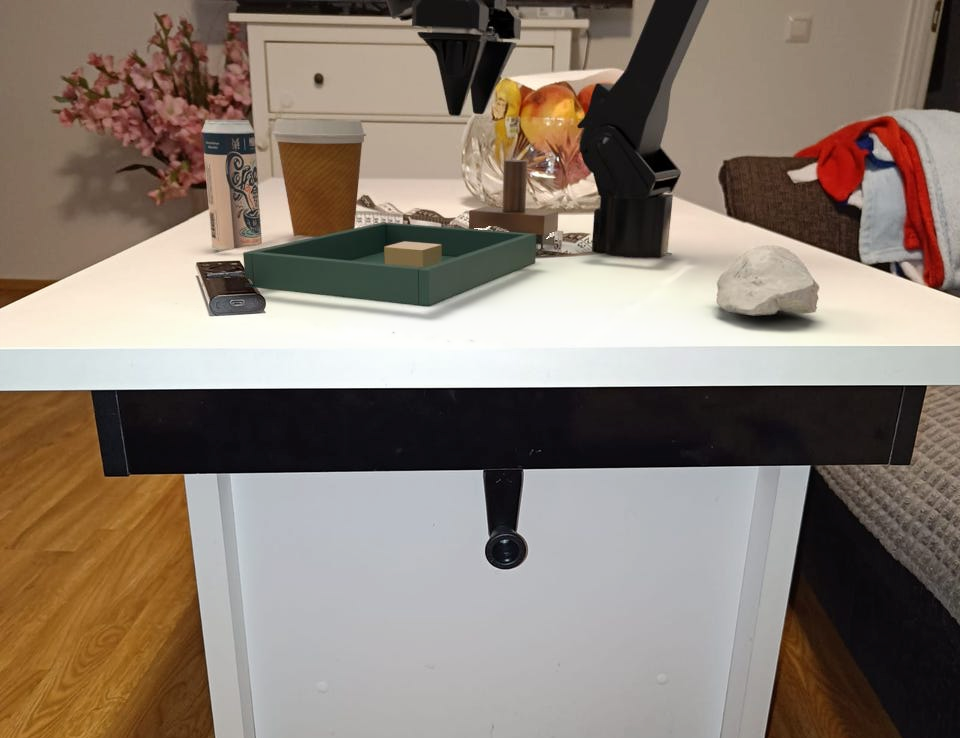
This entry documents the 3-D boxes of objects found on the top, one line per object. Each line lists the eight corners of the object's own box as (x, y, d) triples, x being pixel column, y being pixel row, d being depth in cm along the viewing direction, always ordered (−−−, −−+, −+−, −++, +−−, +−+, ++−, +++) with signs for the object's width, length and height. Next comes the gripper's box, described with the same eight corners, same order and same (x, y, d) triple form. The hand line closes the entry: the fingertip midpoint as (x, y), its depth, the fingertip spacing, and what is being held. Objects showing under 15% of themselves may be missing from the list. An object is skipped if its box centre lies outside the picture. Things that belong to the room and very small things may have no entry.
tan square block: (441, 268, 80) (441, 244, 79) (422, 274, 77) (422, 249, 76) (404, 264, 81) (404, 241, 80) (384, 270, 78) (384, 246, 77)
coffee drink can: (249, 255, 89) (239, 121, 84) (203, 253, 90) (191, 120, 85) (270, 248, 93) (261, 120, 89) (225, 246, 94) (215, 119, 89)
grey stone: (846, 322, 66) (858, 251, 65) (768, 334, 62) (779, 259, 61) (755, 300, 73) (763, 235, 71) (679, 310, 69) (686, 242, 67)
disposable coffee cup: (386, 238, 101) (384, 120, 96) (328, 249, 94) (323, 121, 89) (320, 231, 106) (315, 118, 101) (259, 240, 98) (251, 118, 94)
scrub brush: (557, 245, 99) (561, 161, 96) (543, 250, 95) (546, 163, 92) (484, 239, 102) (486, 157, 99) (468, 244, 98) (469, 159, 95)
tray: (535, 271, 84) (536, 233, 83) (428, 317, 65) (428, 270, 64) (383, 257, 89) (382, 222, 88) (245, 296, 71) (242, 252, 70)
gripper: (422, -52, 97) (418, 109, 103) (356, -83, 80) (357, 111, 86) (526, -50, 95) (516, 114, 101) (481, -81, 78) (473, 118, 84)
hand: (467, 114), depth 93 cm, fingers open, 9 cm apart
